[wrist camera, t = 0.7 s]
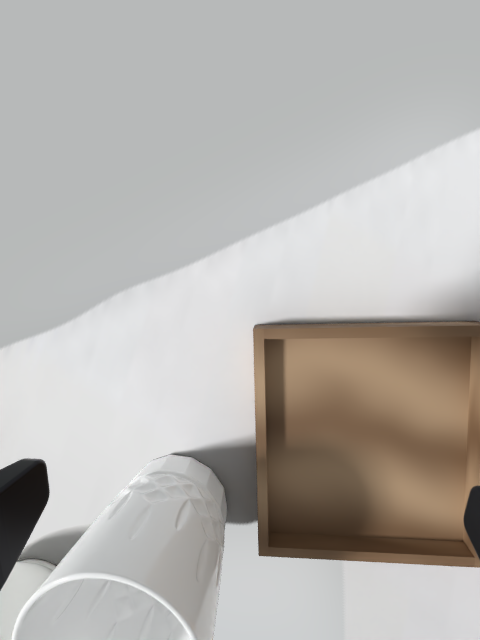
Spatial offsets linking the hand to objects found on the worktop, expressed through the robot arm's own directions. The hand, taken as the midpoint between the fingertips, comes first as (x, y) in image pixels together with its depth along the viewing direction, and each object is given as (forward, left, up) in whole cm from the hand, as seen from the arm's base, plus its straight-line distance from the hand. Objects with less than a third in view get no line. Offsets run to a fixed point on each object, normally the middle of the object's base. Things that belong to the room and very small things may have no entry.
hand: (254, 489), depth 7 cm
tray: (-5, -6, -14) cm, 16 cm away
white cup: (-10, +6, -14) cm, 19 cm away
